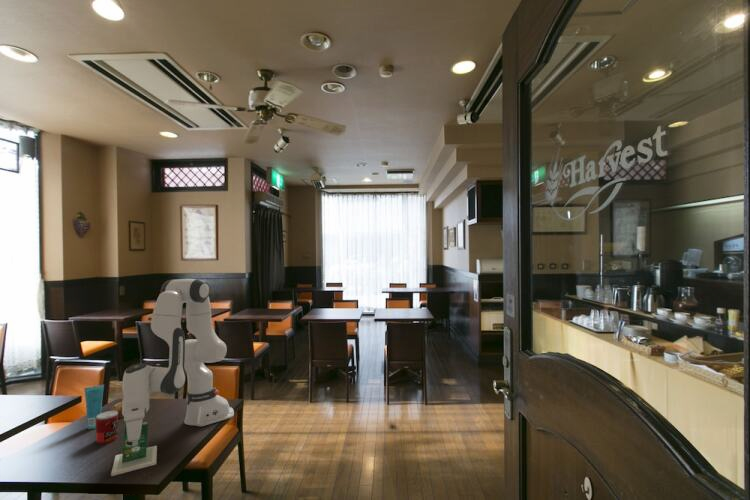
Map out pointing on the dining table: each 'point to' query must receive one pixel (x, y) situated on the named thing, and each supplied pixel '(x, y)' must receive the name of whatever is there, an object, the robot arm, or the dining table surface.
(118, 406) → the bread roll
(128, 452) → the coffee box
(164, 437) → the dining table surface
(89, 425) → the tube
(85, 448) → the dining table surface
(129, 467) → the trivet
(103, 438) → the canned food
